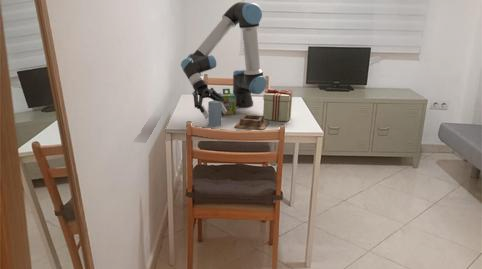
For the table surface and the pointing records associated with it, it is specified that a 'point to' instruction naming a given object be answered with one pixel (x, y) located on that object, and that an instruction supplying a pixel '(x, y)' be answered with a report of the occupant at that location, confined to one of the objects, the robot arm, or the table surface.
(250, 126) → the cradle
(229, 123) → the table surface
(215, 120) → the block
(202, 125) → the table surface
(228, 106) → the chalk box
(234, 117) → the table surface
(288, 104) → the gift box
